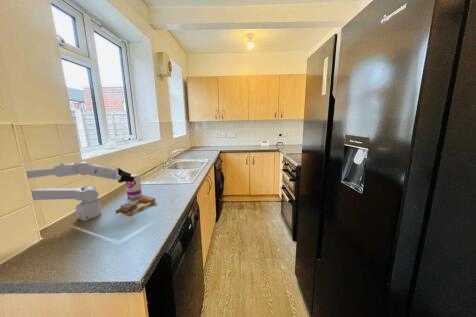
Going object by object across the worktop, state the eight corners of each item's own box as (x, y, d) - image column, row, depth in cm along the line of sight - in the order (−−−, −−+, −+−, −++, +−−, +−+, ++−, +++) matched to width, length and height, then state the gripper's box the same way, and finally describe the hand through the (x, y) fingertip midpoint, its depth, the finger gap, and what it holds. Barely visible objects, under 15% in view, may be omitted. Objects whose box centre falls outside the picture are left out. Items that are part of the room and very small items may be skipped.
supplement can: (137, 200, 120) (135, 177, 117) (124, 200, 120) (121, 177, 117) (144, 195, 128) (142, 173, 125) (132, 195, 128) (129, 173, 125)
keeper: (128, 214, 100) (128, 207, 99) (121, 212, 102) (120, 205, 101) (137, 209, 104) (136, 203, 103) (129, 208, 106) (128, 202, 106)
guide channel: (129, 219, 96) (128, 211, 95) (112, 214, 101) (111, 207, 100) (157, 205, 112) (156, 198, 111) (141, 201, 117) (140, 195, 117)
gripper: (109, 168, 95) (138, 174, 105) (105, 162, 106) (131, 168, 115) (104, 181, 95) (133, 186, 104) (100, 174, 106) (127, 179, 115)
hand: (132, 177), depth 110 cm, fingers open, 7 cm apart
